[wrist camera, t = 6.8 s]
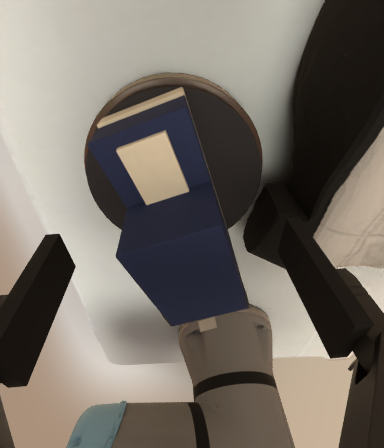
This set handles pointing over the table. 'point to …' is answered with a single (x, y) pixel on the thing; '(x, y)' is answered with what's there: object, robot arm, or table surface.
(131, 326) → the table surface
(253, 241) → the cowboy boot
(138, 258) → the navy and black piece
